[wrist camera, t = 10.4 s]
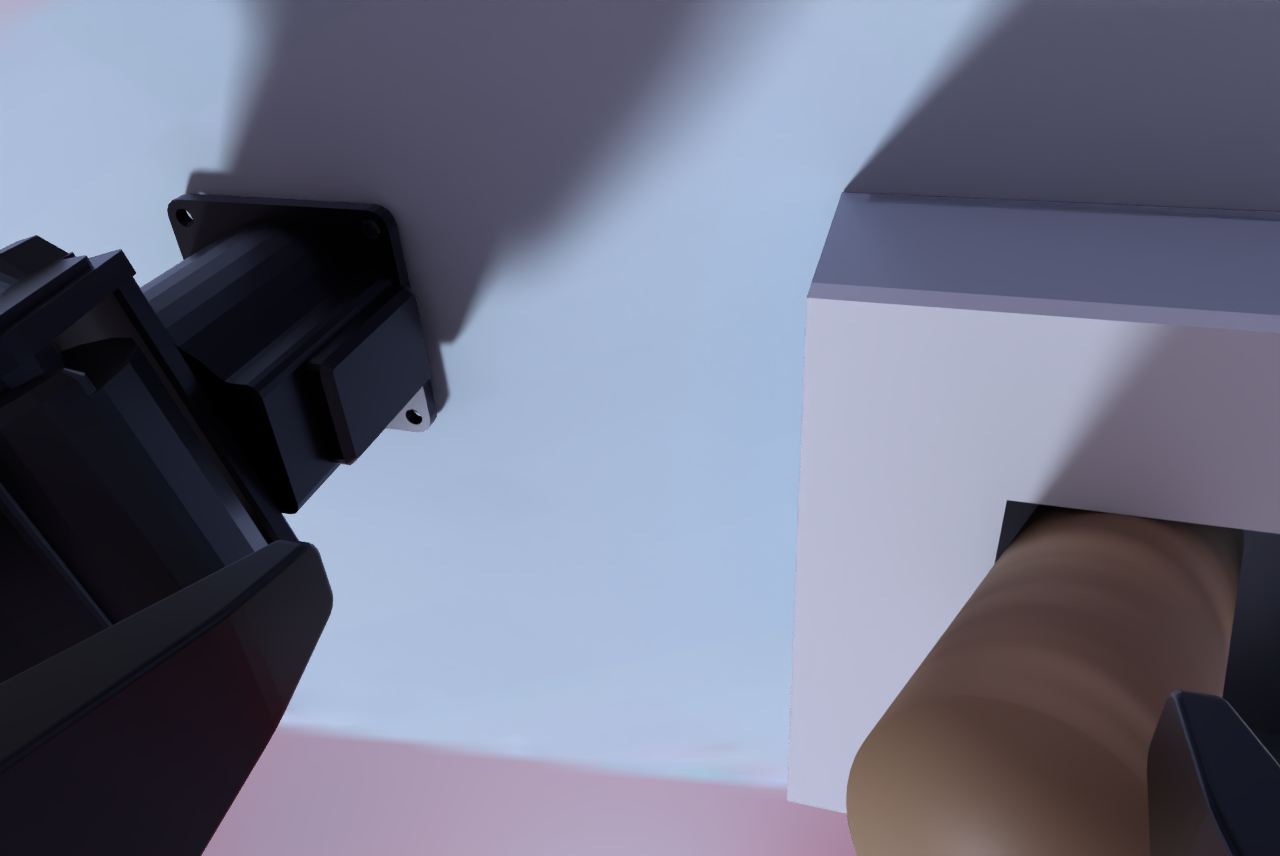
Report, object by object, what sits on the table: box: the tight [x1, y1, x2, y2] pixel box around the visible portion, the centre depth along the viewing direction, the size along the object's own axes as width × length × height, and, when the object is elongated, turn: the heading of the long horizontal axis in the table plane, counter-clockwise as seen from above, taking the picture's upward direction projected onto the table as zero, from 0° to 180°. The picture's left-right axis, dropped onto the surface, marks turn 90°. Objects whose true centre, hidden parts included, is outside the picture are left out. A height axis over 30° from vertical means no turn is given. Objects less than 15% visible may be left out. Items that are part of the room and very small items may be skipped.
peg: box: [846, 504, 1244, 856], centre depth 16 cm, size 4×4×12 cm
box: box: [787, 192, 1280, 814], centre depth 20 cm, size 14×14×5 cm
